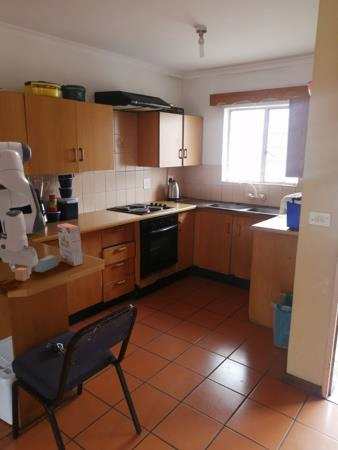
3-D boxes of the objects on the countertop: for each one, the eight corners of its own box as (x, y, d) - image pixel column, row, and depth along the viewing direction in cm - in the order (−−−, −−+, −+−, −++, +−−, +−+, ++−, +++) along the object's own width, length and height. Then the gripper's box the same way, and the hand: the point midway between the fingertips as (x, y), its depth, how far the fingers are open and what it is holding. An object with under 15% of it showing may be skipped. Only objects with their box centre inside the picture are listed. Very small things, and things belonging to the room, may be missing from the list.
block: (15, 279, 166) (14, 269, 165) (22, 276, 170) (20, 266, 169) (23, 280, 164) (22, 270, 163) (29, 278, 168) (28, 267, 167)
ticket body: (34, 271, 177) (33, 261, 176) (51, 264, 188) (50, 254, 187) (42, 272, 175) (41, 262, 174) (58, 264, 186) (57, 255, 185)
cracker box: (60, 261, 191) (56, 224, 187) (70, 259, 196) (66, 222, 191) (73, 267, 182) (69, 228, 177) (83, 264, 186) (79, 225, 181)
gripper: (39, 245, 162) (42, 273, 165) (7, 241, 171) (11, 268, 174) (29, 249, 157) (32, 277, 160) (-3, 244, 165) (1, 272, 168)
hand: (21, 272), depth 167 cm, fingers open, 8 cm apart
